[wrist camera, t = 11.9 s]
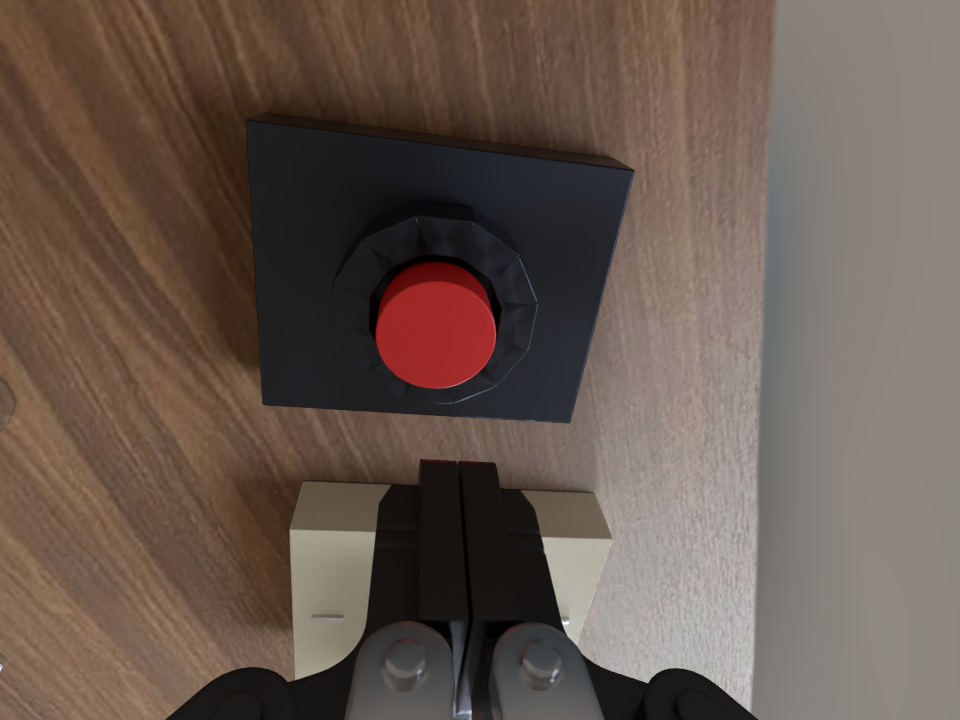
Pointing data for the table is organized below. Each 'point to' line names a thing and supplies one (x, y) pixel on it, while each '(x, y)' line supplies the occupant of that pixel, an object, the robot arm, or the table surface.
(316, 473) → the table surface
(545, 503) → the beige base plate
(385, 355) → the button
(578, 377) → the button box
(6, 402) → the milkshake
